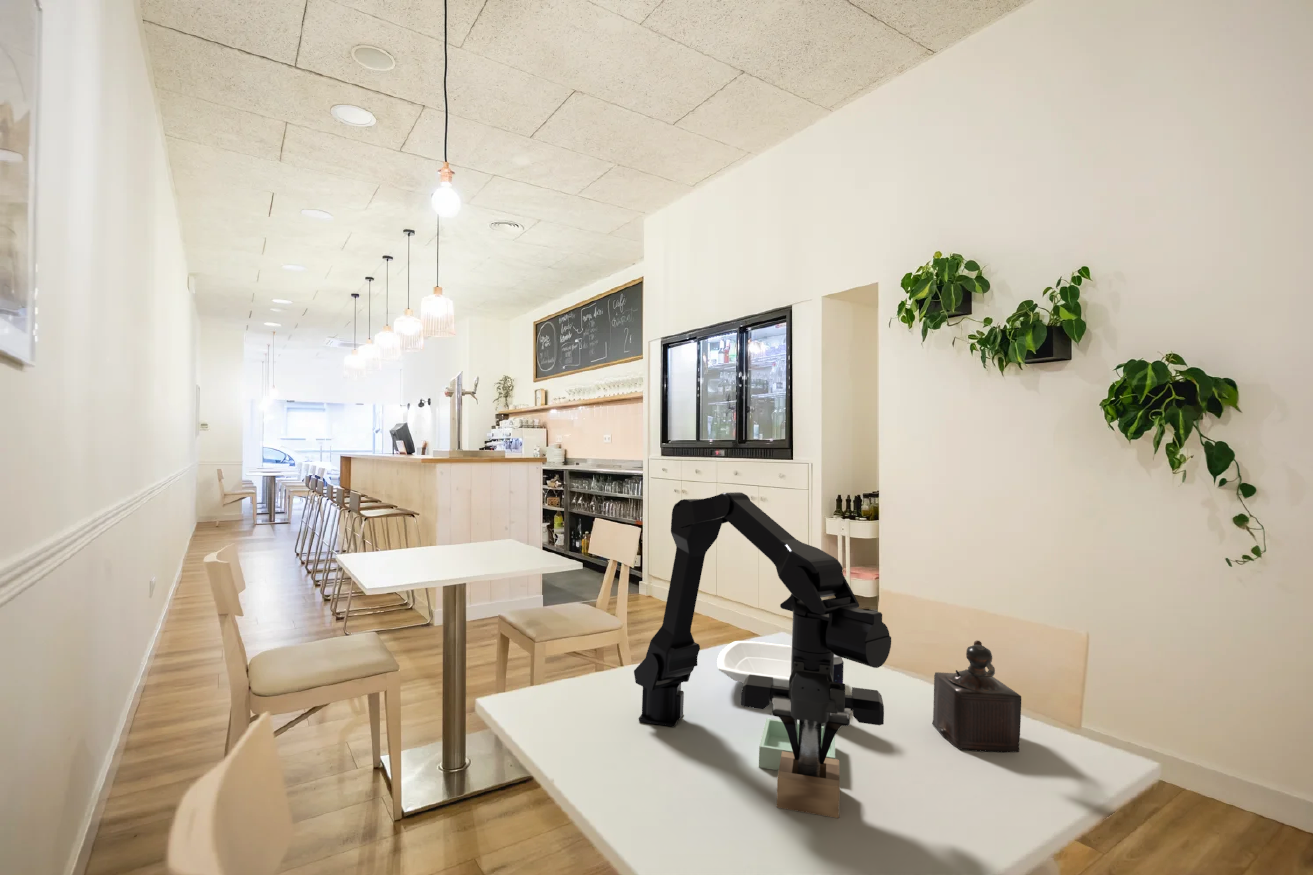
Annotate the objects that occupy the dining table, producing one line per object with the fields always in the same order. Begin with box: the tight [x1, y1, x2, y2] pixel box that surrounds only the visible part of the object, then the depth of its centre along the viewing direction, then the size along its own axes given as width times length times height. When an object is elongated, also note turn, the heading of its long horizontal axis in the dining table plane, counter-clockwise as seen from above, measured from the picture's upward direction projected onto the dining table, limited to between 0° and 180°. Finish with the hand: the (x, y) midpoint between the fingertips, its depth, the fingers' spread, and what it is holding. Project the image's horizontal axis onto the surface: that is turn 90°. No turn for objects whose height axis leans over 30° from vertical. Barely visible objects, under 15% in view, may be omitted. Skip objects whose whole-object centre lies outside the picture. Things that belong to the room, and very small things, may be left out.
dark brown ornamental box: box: [931, 640, 1022, 753], centre depth 109 cm, size 16×11×18 cm
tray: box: [758, 717, 836, 771], centre depth 102 cm, size 11×11×3 cm
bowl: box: [716, 640, 792, 687], centre depth 132 cm, size 22×23×6 cm
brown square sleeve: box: [776, 751, 841, 819], centre depth 90 cm, size 8×8×4 cm
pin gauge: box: [798, 719, 823, 778], centre depth 90 cm, size 3×3×10 cm
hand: (809, 760), depth 90 cm, fingers closed on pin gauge, 3 cm apart
